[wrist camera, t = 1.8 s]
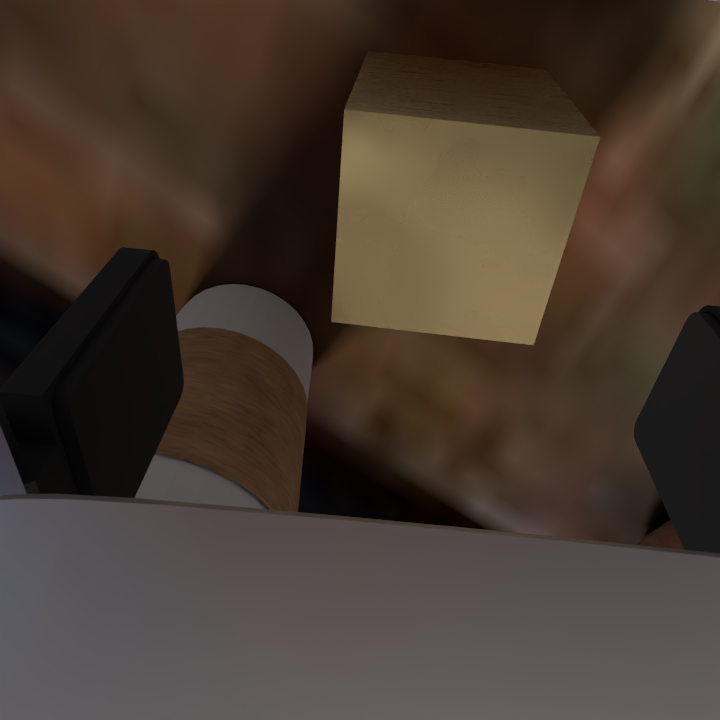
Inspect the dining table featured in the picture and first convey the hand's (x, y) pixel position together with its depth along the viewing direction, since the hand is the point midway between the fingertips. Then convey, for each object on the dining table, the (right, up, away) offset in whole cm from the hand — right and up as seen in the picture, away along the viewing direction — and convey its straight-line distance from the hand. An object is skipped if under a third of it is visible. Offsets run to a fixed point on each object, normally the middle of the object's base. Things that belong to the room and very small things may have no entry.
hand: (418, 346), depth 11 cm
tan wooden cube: (+2, +7, +9) cm, 11 cm away
